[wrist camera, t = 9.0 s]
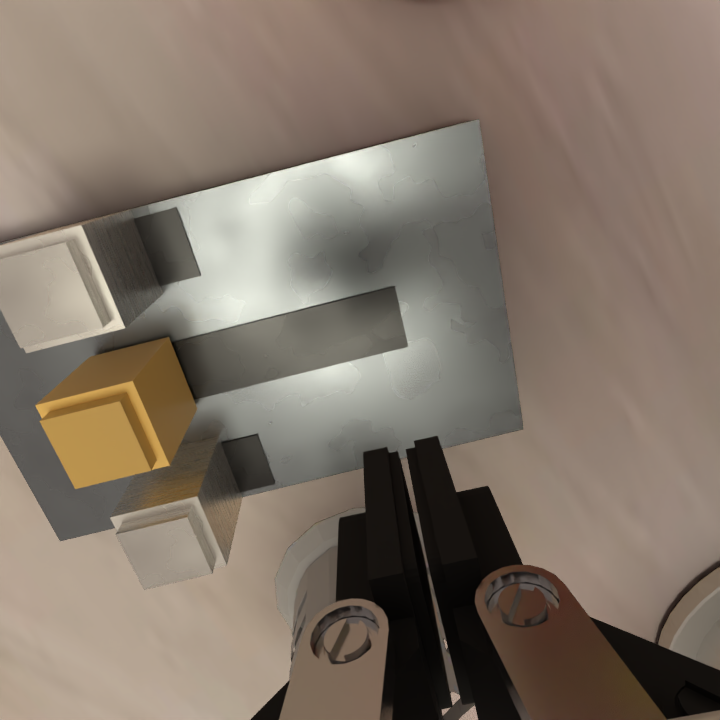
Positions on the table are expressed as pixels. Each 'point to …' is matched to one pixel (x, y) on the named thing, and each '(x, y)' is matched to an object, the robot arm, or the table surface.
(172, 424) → the orange rectangular block
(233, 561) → the table surface
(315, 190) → the panel
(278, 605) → the french press
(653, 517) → the table surface
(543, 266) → the table surface
